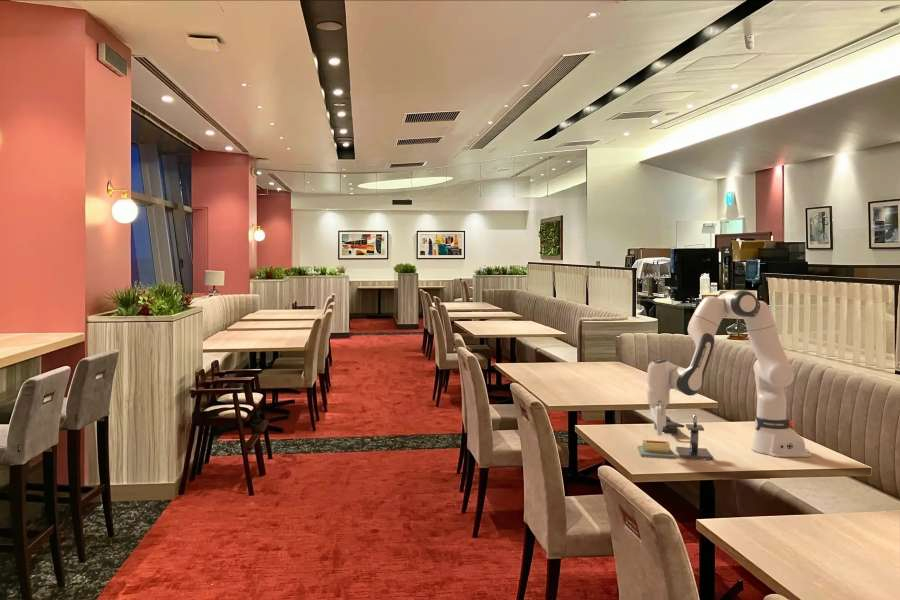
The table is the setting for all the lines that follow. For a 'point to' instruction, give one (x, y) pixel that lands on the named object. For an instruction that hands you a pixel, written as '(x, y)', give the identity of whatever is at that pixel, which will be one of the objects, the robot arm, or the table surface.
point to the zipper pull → (671, 426)
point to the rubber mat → (656, 453)
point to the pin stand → (694, 444)
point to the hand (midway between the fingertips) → (657, 432)
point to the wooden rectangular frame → (656, 446)
